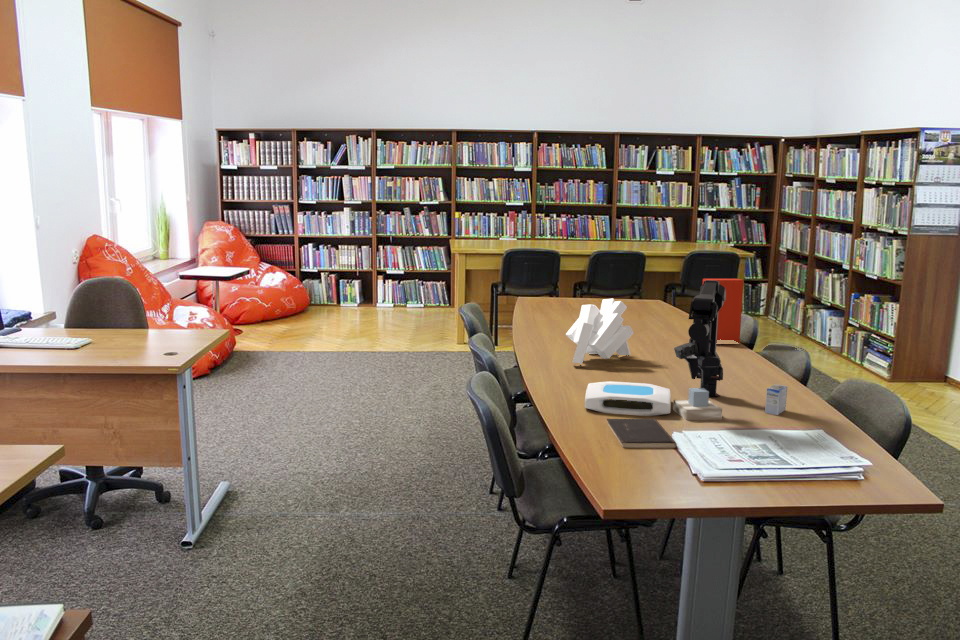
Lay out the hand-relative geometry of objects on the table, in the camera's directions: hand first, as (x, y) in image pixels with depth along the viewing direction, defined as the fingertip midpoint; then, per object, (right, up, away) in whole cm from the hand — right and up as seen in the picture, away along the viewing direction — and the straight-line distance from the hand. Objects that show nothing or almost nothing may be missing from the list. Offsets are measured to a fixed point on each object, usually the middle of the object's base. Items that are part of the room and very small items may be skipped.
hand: (698, 382), depth 251 cm
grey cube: (0, -8, +1) cm, 8 cm away
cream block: (0, -11, +2) cm, 12 cm away
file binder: (+46, +9, +125) cm, 134 cm away
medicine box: (+28, -11, +6) cm, 30 cm away
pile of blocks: (-20, +3, +84) cm, 86 cm away
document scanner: (-21, -10, +11) cm, 26 cm away
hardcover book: (-24, -15, -21) cm, 35 cm away
